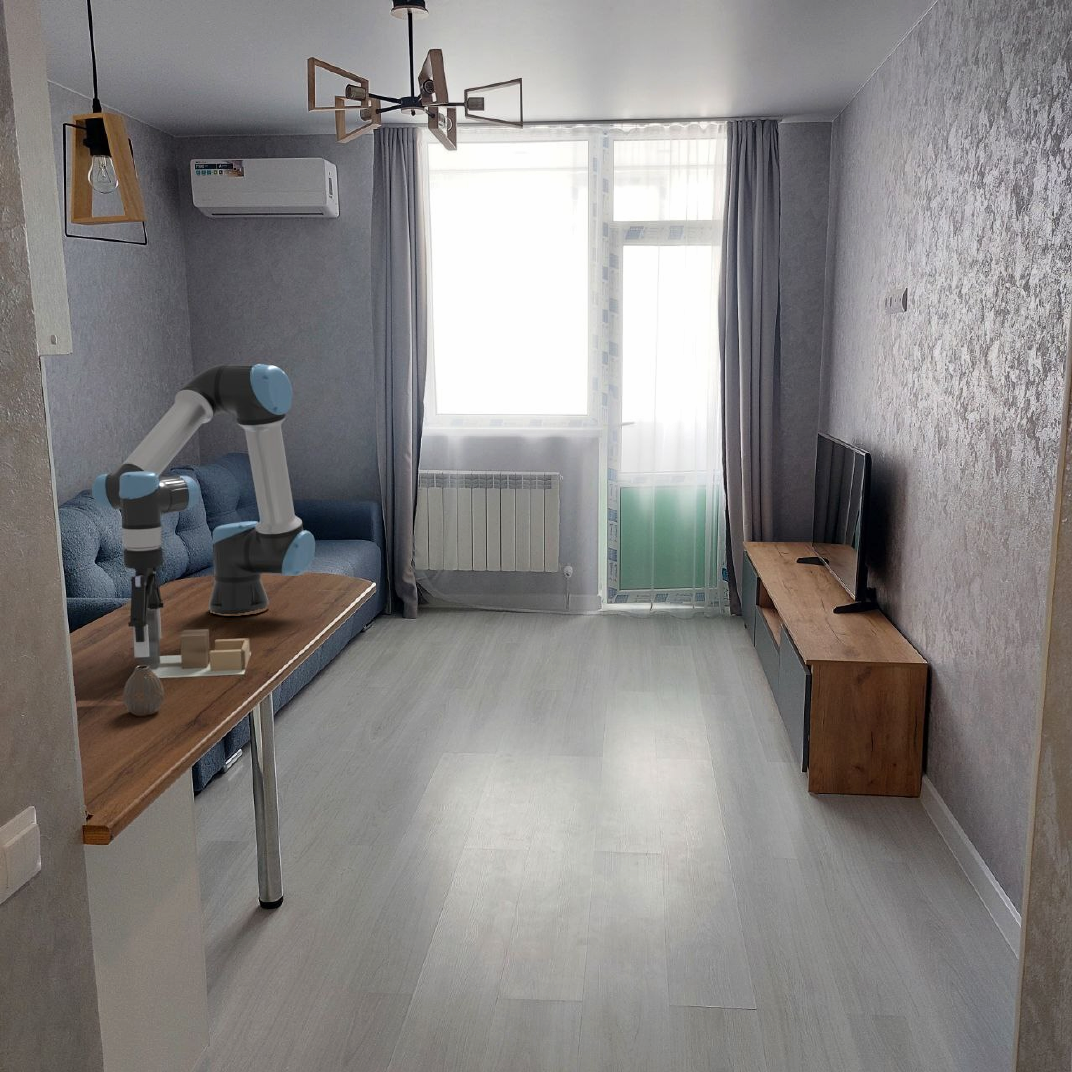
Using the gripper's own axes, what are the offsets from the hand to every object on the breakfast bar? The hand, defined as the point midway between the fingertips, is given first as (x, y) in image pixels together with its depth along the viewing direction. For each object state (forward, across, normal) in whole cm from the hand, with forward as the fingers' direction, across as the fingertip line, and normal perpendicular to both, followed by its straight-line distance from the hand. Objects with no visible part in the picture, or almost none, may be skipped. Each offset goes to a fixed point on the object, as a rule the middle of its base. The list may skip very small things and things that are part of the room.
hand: (148, 647), depth 209 cm
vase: (+5, +26, +4) cm, 27 cm away
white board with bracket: (+5, 0, +9) cm, 10 cm away
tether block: (+4, 0, +5) cm, 7 cm away
